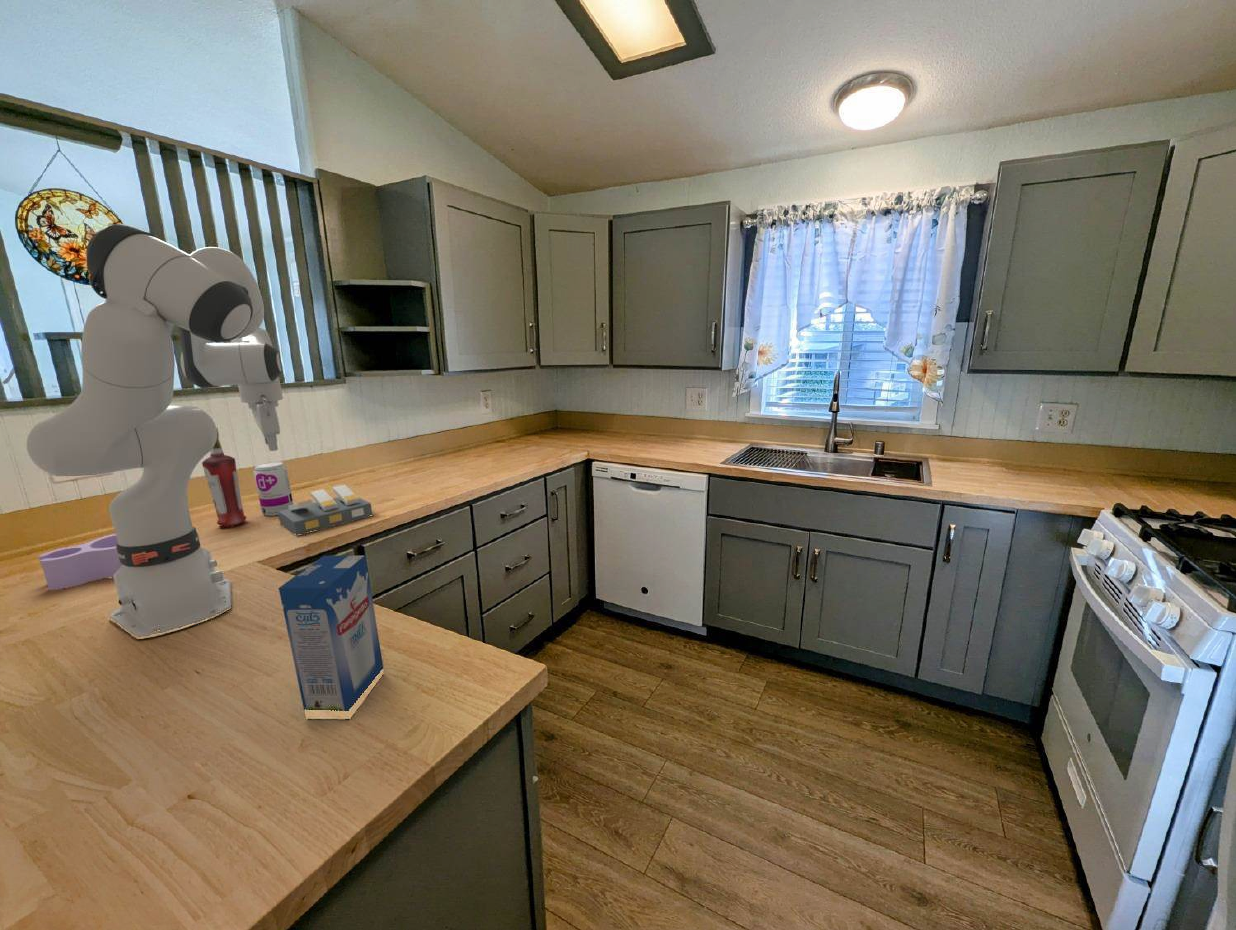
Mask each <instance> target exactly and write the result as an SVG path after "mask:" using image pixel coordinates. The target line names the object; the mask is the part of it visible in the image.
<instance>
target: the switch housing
mask: <svg viewBox="0 0 1236 930" xmlns="http://www.w3.org/2000/svg"><path fill="white" fill-rule="evenodd" d="M357 497H358V498H359V503H355V504H351V505H346V504H345V503H344V502H343V501H342V500H341V499H340V498H339V497H338V496H337V497H333V498H332V499H333V500H334V501H335V502H336V503H337V506H338V508H334V509H330V510H326V511H324V510H323V509H322V508H321V507H320V506H319V504H318V503H317V502H316V501H315V502H313V505H310V506H305V507H301V508H296V509H290V510H289V509H285V510H281V511H278V514H279V515H278V519H279V522H280V525H281V526H282V525H283V526H284V527H283V526H282V527H283V528H285V529H286V530H288V531H289V530H290V531H291V532H290V531H289V532H290V533H292V532H293V533H294V534H296V535H298V534H303V535H305V534H304V533H307V532H310V531H314V530H318V531H321V530H320V529H322V530H325V529H324V528H326V529H328V528H327V527H329V528H331V527H330V526H333V525H337V526H340V525H339V524H341V525H343V524H342V523H344V524H347V523H346V522H348V523H350V522H349V521H352V520H356V521H358V520H359V521H360V520H362V519H361V518H363V519H365V517H367V518H369V517H368V516H370V515H373V510H372V503H371V502H369V501H368V500H365V499H362V498H360V497H359V496H357ZM352 522H353V521H352ZM333 527H334V526H333ZM314 532H315V531H314ZM293 533H292V534H293ZM294 534H293V535H294ZM307 534H308V533H307ZM296 535H295V536H296Z"/></svg>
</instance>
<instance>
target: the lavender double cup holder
mask: <svg viewBox="0 0 1236 930" xmlns="http://www.w3.org/2000/svg"><path fill="white" fill-rule="evenodd" d="M117 543H118V540H117V537H116V533H113V534H109V535H105V536H101V537H98V538H96V539H93V540H90V541H88V542H85V543H82V544H78V545H77V544H76V545H73V546H67V547H62V548H58V549H53V550H51V551H48V552H47V551H46V552H45V553H43V554H39V555H38V560H39V562H40V566H41V568H42V571H43V575H44V577H45V580H46V583H47V586H48V589H49V591H58V590H64V589H63V588H66V589H70V588H73V587H72V586H74V587H77V586H81V585H84V584H86V582H87V583H89V582H88V581H90V582H93V581H98V580H103V579H102V578H107V579H110V578H109V577H113V575H114V574H115V573H116V572H117V571H118V570H119V569H120V567H121V565H122V564H121V563H120V560H119V557H118V555H117V552H116V551H117V548H116V544H117ZM69 587H70V588H69Z"/></svg>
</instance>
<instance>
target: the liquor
mask: <svg viewBox="0 0 1236 930" xmlns="http://www.w3.org/2000/svg"><path fill="white" fill-rule="evenodd" d="M216 429H217V440H216V443H215V445H214V447H213V448H212V450H211V451H210V452H209V454H210V456H209V457H207V458H206V459H204V460H203V461H202V462H201V465H202V468H203V471H204V475H205V479H206V482H207V485H208V488H209V491H210V495H211V498H212V501H213V506H214V508H215V512H216V516H217V521H216V524H217V525H219V526H221V527H222V528H234V527H233V526H235V527H238V526H241V525H242V524H243V523H244V522H245V521H246V520H247V518H248V517H247V516H246V515H245V513H244V507H243V502H242V497H241V492H240V490H241V489H240V484H239V475H238V470H237V465H236V458H234V457H232V456H231V455H226V454H224V450H223V448H222V445H221V442H220V439H219V438H220V435H219V434H220V433H219V428H218V427H216ZM237 525H238V526H237Z"/></svg>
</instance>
